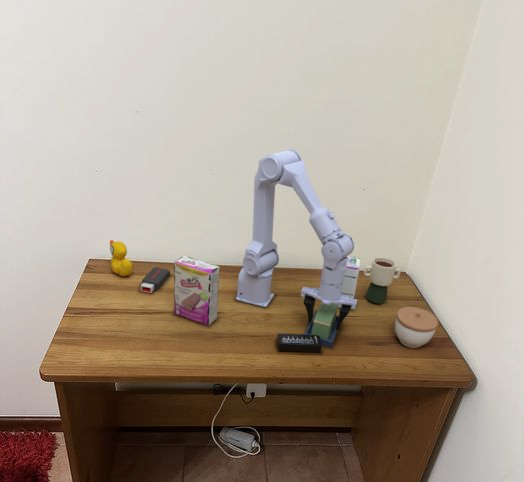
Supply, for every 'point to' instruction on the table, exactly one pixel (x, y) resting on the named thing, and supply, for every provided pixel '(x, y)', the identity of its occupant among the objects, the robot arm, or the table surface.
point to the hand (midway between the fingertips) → (323, 324)
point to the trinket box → (415, 326)
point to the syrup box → (350, 277)
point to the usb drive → (154, 279)
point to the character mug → (380, 278)
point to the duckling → (120, 259)
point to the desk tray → (333, 333)
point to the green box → (324, 320)
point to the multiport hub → (299, 342)
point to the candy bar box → (196, 290)
